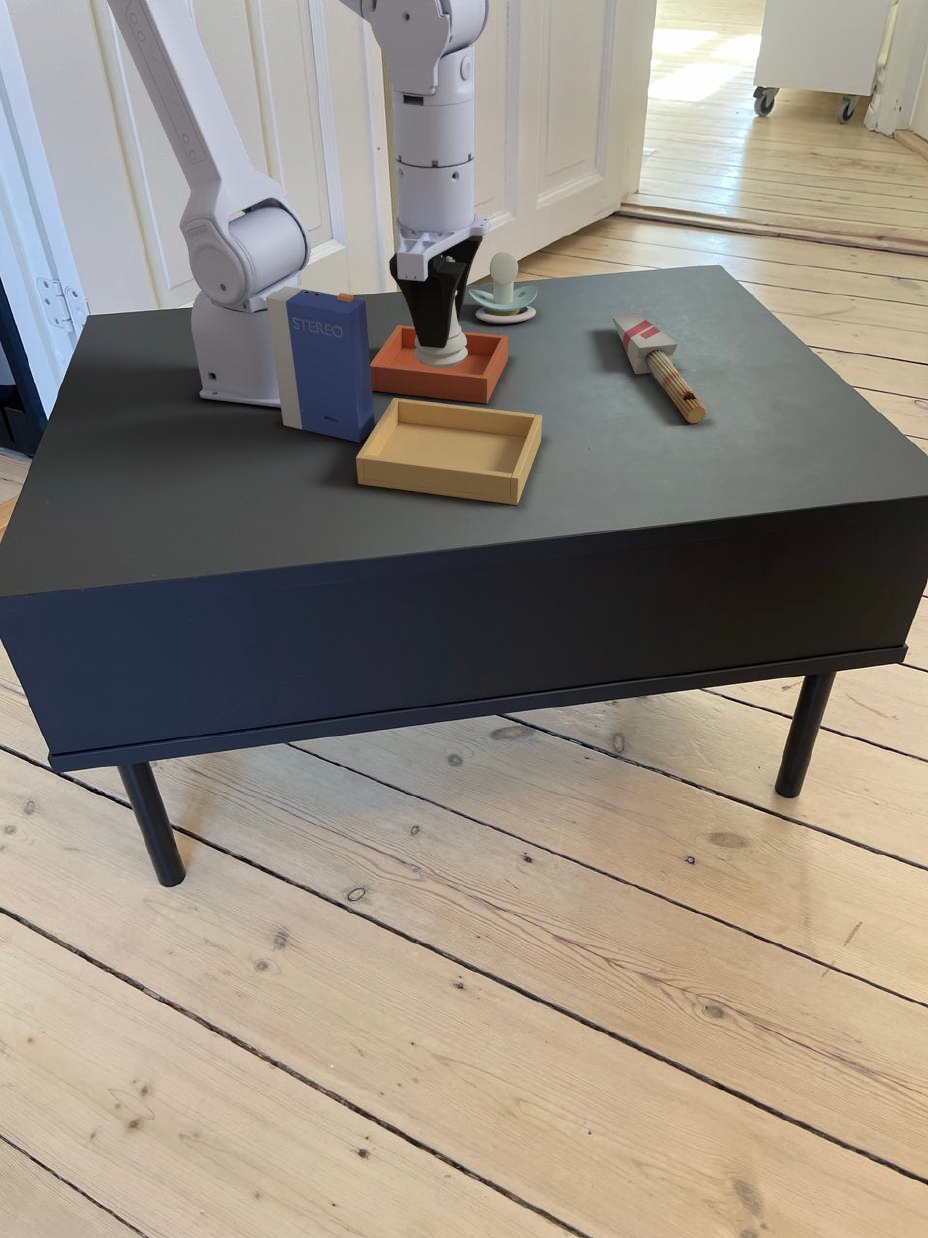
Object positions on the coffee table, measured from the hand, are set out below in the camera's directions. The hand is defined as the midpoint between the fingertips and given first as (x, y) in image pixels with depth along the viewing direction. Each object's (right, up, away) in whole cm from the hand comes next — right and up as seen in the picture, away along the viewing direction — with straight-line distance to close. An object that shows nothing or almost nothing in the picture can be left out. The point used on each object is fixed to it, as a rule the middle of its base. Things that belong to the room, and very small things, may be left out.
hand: (439, 335), depth 79 cm
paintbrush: (+20, 0, +14) cm, 25 cm away
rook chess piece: (0, -2, +1) cm, 2 cm away
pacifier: (+6, +9, +25) cm, 27 cm away
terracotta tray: (0, 0, +14) cm, 14 cm away
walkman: (-10, -6, +7) cm, 14 cm away
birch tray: (+1, -10, +2) cm, 10 cm away
